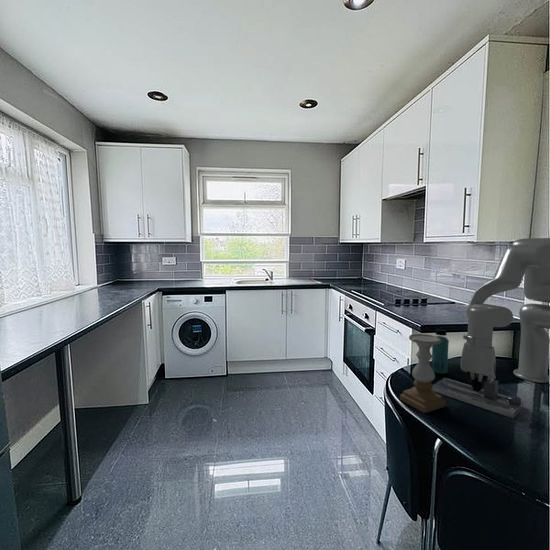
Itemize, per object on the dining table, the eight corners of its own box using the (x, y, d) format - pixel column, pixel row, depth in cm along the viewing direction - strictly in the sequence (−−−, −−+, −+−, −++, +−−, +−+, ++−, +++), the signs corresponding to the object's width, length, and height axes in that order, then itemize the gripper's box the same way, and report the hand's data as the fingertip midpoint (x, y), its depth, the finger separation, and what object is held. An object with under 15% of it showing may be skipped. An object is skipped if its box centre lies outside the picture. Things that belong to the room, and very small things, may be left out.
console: (444, 382, 129) (444, 373, 128) (523, 406, 109) (523, 397, 108) (431, 390, 121) (431, 382, 121) (513, 418, 101) (514, 408, 101)
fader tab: (487, 394, 113) (488, 378, 113) (497, 397, 111) (498, 380, 110) (483, 397, 111) (484, 381, 110) (493, 401, 108) (494, 383, 108)
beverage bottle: (443, 371, 140) (445, 327, 138) (450, 377, 133) (452, 331, 131) (428, 370, 140) (430, 327, 139) (434, 376, 134) (436, 331, 132)
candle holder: (424, 413, 104) (427, 344, 102) (399, 399, 114) (401, 335, 112) (446, 406, 109) (449, 339, 107) (420, 393, 119) (422, 332, 117)
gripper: (453, 338, 116) (450, 386, 117) (501, 348, 104) (497, 401, 106) (460, 335, 121) (458, 380, 122) (507, 344, 109) (504, 394, 111)
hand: (476, 390), depth 114 cm, fingers closed
